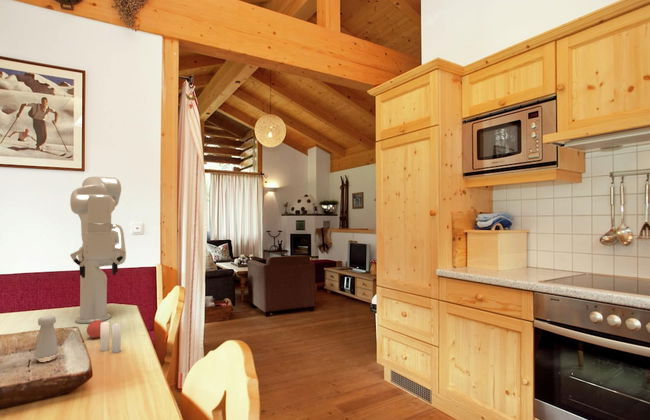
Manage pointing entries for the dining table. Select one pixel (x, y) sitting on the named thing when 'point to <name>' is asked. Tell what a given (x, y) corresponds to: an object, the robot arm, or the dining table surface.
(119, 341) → the pin
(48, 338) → the salt shaker
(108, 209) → the robot arm
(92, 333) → the ball
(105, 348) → the pin
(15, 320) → the dining table surface
